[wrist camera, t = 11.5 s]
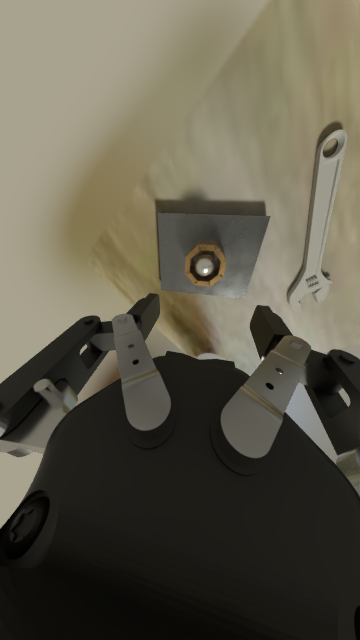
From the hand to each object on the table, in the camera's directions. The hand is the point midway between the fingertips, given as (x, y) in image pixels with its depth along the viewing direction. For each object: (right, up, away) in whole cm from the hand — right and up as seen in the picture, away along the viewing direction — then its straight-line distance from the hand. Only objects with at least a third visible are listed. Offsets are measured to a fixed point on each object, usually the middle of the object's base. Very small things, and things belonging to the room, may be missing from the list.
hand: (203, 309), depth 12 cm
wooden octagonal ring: (+3, +10, +15) cm, 19 cm away
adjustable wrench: (+22, +13, +13) cm, 28 cm away
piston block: (+3, +12, +17) cm, 21 cm away
